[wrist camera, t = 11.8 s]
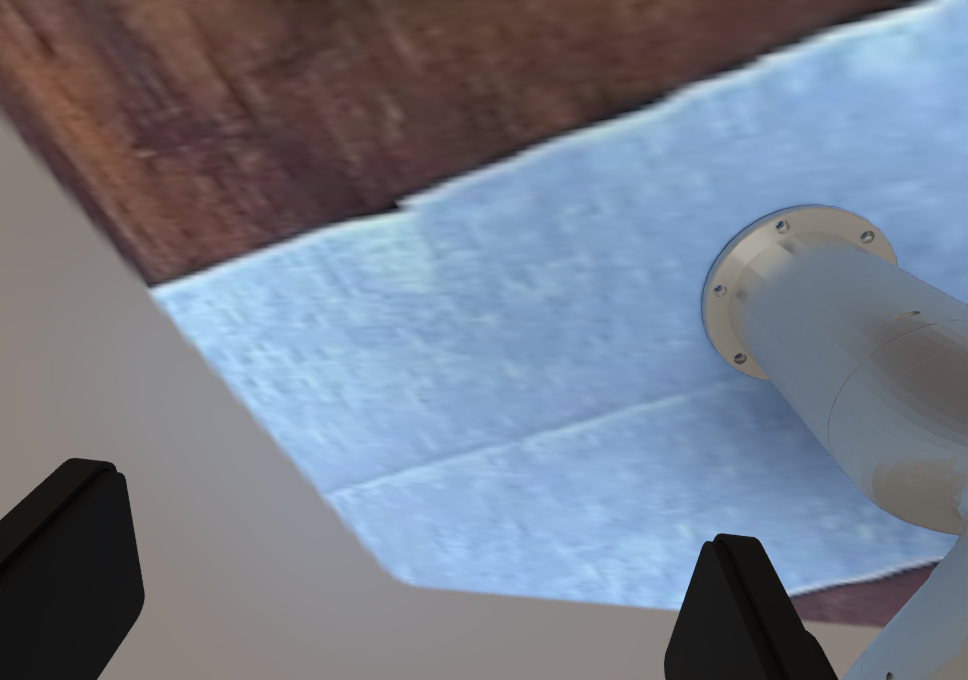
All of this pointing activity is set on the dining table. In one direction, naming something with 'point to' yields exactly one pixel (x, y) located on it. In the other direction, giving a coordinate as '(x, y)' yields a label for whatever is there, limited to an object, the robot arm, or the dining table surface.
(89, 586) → the robot arm
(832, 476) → the dining table surface
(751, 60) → the dining table surface
